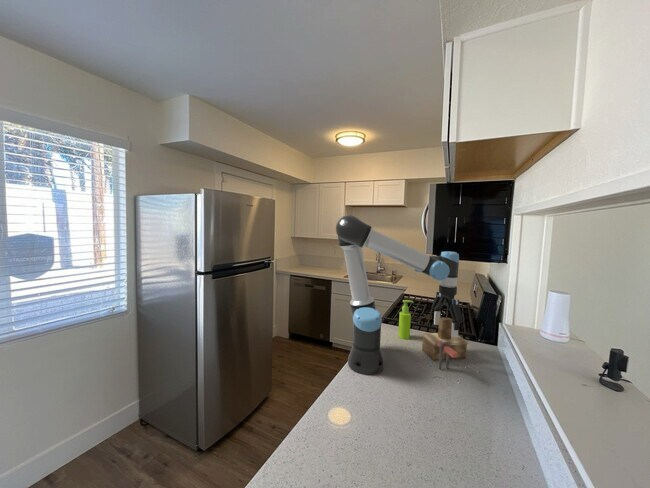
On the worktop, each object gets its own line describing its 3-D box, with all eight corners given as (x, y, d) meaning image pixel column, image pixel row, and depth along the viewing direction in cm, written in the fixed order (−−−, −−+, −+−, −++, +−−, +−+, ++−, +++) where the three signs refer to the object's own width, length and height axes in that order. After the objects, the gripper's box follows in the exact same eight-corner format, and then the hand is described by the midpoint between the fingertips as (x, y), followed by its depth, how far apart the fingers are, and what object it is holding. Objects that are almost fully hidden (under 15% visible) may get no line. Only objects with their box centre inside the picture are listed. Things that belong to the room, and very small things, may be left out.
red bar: (452, 357, 108) (453, 353, 108) (436, 344, 119) (437, 340, 119) (457, 357, 109) (457, 353, 108) (440, 344, 119) (441, 340, 119)
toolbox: (439, 369, 115) (441, 343, 114) (419, 350, 132) (420, 327, 130) (476, 366, 118) (478, 341, 117) (451, 348, 135) (453, 325, 133)
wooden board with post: (434, 348, 121) (435, 324, 120) (421, 338, 131) (423, 315, 130) (467, 346, 124) (469, 322, 123) (453, 336, 134) (454, 314, 133)
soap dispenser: (413, 339, 143) (415, 302, 141) (399, 339, 143) (401, 302, 141) (409, 334, 149) (411, 299, 147) (397, 334, 149) (398, 298, 147)
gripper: (474, 292, 114) (471, 341, 116) (439, 279, 138) (437, 319, 140) (458, 293, 112) (455, 342, 114) (425, 279, 137) (423, 320, 139)
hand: (445, 330), depth 127 cm, fingers open, 13 cm apart
